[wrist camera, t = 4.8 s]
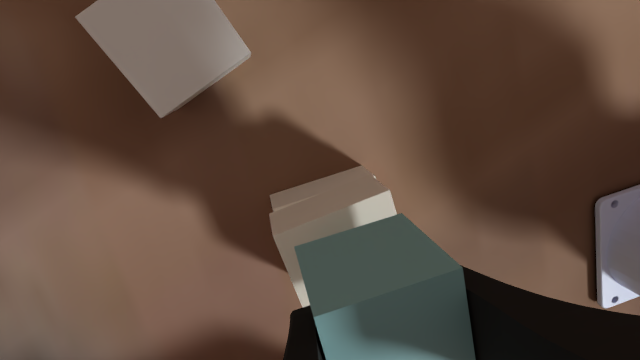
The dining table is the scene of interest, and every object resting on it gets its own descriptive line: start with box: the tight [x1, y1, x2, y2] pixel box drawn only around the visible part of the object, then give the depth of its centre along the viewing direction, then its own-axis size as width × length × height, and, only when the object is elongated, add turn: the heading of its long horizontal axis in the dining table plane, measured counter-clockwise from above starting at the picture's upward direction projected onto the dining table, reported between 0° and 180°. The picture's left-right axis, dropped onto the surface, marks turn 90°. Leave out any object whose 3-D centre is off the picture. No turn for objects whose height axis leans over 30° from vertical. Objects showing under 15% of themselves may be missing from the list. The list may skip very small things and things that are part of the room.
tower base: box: [270, 165, 376, 212], centre depth 19 cm, size 5×5×2 cm
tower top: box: [269, 175, 397, 307], centre depth 17 cm, size 5×5×2 cm
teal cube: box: [294, 213, 476, 360], centre depth 12 cm, size 4×4×4 cm
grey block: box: [75, 0, 251, 118], centre depth 15 cm, size 4×4×4 cm
